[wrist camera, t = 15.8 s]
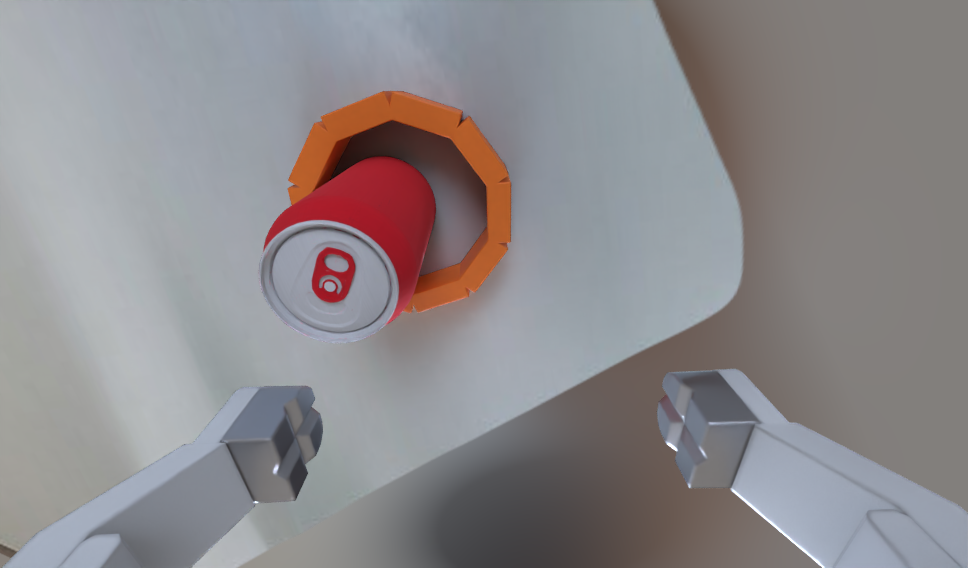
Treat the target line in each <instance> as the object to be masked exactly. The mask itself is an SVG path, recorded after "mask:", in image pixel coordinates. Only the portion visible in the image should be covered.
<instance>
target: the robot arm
mask: <svg viewBox="0 0 968 568" xmlns="http://www.w3.org/2000/svg"><path fill="white" fill-rule="evenodd" d="M662 387H663V389H664V390H665V392H666V395H665V396H664V397H663V398H662V399H661V400H660V401H659V404H658V410H657V416H658V425H659V428H660V432H661V434H662V436H663V438H664V440H665V442H666V444H667V445H669V446H670V447H672V448H673V449H674V450H676V451H677V455H676V458H675V461H676V463H677V465H678V467H679V469H680V471H681V473H682V475H683V477H684V479H685V481H686V482H687V484H688V486H689V488H731V491H733V492H734V493H735V494H736V495H737V496H739V497H740V498H741V499H742V500H743V501H745V502H746V503H747V504H748V505H749V506H750V507H752V508H753V509H754V510H755V511H756V512H758V513H759V514H760V515H761V516H762V517H764V518H765V519H766V520H767V521H768V522H769V523H771V524H772V525H773V526H774V527H775V528H776V529H778V530H779V531H780V532H781V533H782V534H784V535H785V536H786V537H787V538H788V539H790V540H791V541H792V542H793V543H794V544H795V545H797V546H798V547H799V548H800V549H801V550H803V551H804V552H805V553H806V554H807V555H809V556H810V557H811V558H812V559H813V560H814V561H816V562H817V563H818V564H819V565H820V566H822V567H823V568H968V513H967V512H966V511H965V510H963V509H962V508H961V507H960V506H959V505H957V504H955V503H953V502H951V501H949V500H947V499H945V498H943V497H941V496H939V495H938V494H936V493H934V492H932V491H930V490H928V489H926V488H924V487H922V486H920V485H918V484H916V483H914V482H912V481H910V480H908V479H906V478H904V477H902V476H900V475H898V474H897V473H894V472H893V471H891V470H889V469H887V468H885V467H883V466H881V465H879V464H877V463H875V462H873V461H871V460H869V459H867V458H865V457H863V456H861V455H859V454H857V453H855V452H854V451H851V450H850V449H848V448H846V447H844V446H842V445H840V444H838V443H836V442H834V441H832V440H830V439H828V438H826V437H824V436H822V435H820V434H818V433H816V432H814V431H812V430H811V429H809V428H807V427H805V426H803V425H801V424H799V423H789V422H788V421H787V420H786V419H785V417H783V415H782V414H781V413H780V412H779V411H778V410H777V409H776V408H775V407H774V406H773V405H772V404H771V402H769V400H768V399H767V398H766V397H765V396H764V395H763V394H762V393H761V392H760V391H759V390H758V389H757V387H756V386H755V385H754V384H753V383H752V382H751V381H750V380H749V379H748V378H747V377H746V376H745V375H744V373H743V372H741V371H739V370H737V369H723V370H712V371H690V372H668V373H667V374H666V376H665V377H664V380H663V384H662ZM314 401H315V397H314V394H313V391H312V389H311V388H310V387H308V386H264V387H242V388H240V389H238V390H236V391H235V392H234V394H233V395H232V396H231V397H230V398H229V400H228V401H227V402H226V403H225V405H224V406H223V407H222V408H221V409H220V411H219V412H218V413H217V414H216V415H215V417H214V418H213V419H212V420H211V422H210V423H209V424H208V425H207V426H206V428H205V429H204V430H203V431H202V432H201V434H200V435H199V436H198V437H197V439H196V440H195V441H194V442H193V443H192V444H184V445H183V446H181V447H179V448H178V449H176V450H174V451H173V452H171V453H169V454H168V455H166V456H164V457H163V458H161V459H159V460H158V461H156V462H154V463H153V464H151V465H149V466H148V467H146V468H144V469H143V470H141V471H139V472H138V473H136V474H134V475H133V476H131V477H129V478H128V479H126V480H124V481H123V482H121V483H119V484H118V485H116V486H114V487H113V488H111V489H109V490H108V491H106V492H104V493H103V494H101V495H99V496H98V497H96V498H94V499H93V500H91V501H89V502H88V503H86V504H84V505H83V506H81V507H79V508H78V509H76V510H74V511H73V512H71V513H69V514H68V515H66V516H65V517H63V518H61V519H60V520H58V521H56V522H55V523H53V524H51V525H50V526H48V527H46V528H45V529H43V530H41V531H40V532H38V533H36V534H35V535H34V536H33V537H32V538H31V539H30V540H29V541H28V542H27V543H26V544H25V545H24V546H23V547H22V548H21V549H20V550H19V551H18V552H17V553H16V554H15V555H14V556H13V557H12V558H11V559H10V560H9V561H8V562H7V563H6V564H5V565H4V566H3V567H2V568H191V567H192V566H193V565H194V564H195V563H196V562H197V561H198V560H199V559H200V558H202V557H203V556H204V555H205V554H206V553H207V552H208V551H209V550H210V549H211V548H212V547H213V546H214V545H215V544H216V543H217V542H218V541H219V540H220V539H221V538H222V537H223V536H224V535H225V534H226V533H228V532H229V531H230V530H231V529H232V528H233V527H234V526H235V525H236V524H237V523H238V522H239V521H240V520H241V519H242V518H243V517H244V516H245V515H246V514H247V513H248V512H249V511H250V510H251V509H252V508H254V507H255V504H256V503H272V502H288V501H295V500H296V498H297V496H298V494H299V492H300V489H301V487H302V485H303V483H304V481H305V479H306V476H307V474H308V472H307V469H306V466H305V464H306V463H308V462H309V461H310V460H311V459H312V458H314V457H315V456H316V454H317V452H318V450H319V447H320V445H321V440H322V434H323V425H322V419H321V416H320V413H319V412H317V411H316V410H315V409H314V408H312V407H311V406H312V404H313V402H314Z"/></svg>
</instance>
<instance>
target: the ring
mask: <svg viewBox="0 0 968 568" xmlns="http://www.w3.org/2000/svg"><path fill="white" fill-rule="evenodd" d="M462 114H463V111H462V110H459V109H456V108H453V107H450V106H447V105H444V104H441V103H438V102H434V101H431V100H428V99H425V98H422V97H419V96H416V95H413V94H410V93H407V92H404V91H383V92H380V93H378V94H375V95H373V96H370V97H368V98H365V99H363V100H360V101H358V102H356V103H353V104H351V105H348V106H346V107H343V108H341V109H338V110H336V111H333V112H331V113H328V114H326V115H324V116H321V119H322V122H317V123H314V125H313V127H312V129H311V132H310V134H309V136H308V138H307V140H306V142H305V145H304V147H303V149H302V151H301V153H300V155H299V157H298V160H297V162H296V164H295V166H294V168H293V170H292V173H291V175H290V177H289V179H288V180H289V181H290V182H292V183H293V184H295V185H293V186H291V187H289V188H288V192H289V196H290V200H291V204H292V205H293V204H295V203H296V202H298V201H300V200H301V199H303V198H304V197H306V196H307V195H309V194H310V193H312V192H313V191H315V190H316V189H318V188H319V187H321V186H322V185H324V184H325V183H327V182H329V180H330V178H331V176H332V174H333V172H334V170H335V168H336V166H337V164H338V162H339V160H340V158H341V156H342V154H343V152H344V150H345V148H346V146H347V144H348V142H349V140H350V139H351V137H352V136H354V135H357V134H359V133H362V132H364V131H367V130H369V129H372V128H374V127H377V126H380V125H382V124H385V123H387V122H390V121H392V120H393V121H396V122H399V123H402V124H405V125H409V126H412V127H415V128H418V129H421V130H425V131H428V132H431V133H434V134H437V135H441V136H444V137H447V138H450V139H451V140H452V141H453V142H454V144H455V145H456V146H457V148H458V149H459V150H460V152H461V153H462V154H463V156H464V157H465V158H466V160H467V161H468V162H469V164H470V165H471V166H472V168H473V169H474V170H475V172H476V173H477V174H478V176H479V177H480V178H481V180H482V181H483V182H484V183H485V185H486V203H487V227H486V228H485V230H484V231H483V233H482V234H481V235H480V237H479V238H478V240H477V241H476V242H475V244H474V245H473V246H472V248H471V249H470V251H469V252H468V253H467V255H466V256H465V258H464V259H463V260H462V262H461V263H459V264H456V265H453V266H450V267H447V268H444V269H441V270H438V271H435V272H432V273H429V274H426V275H423V276H420V277H418V280H417V284H416V287H415V291H414V293H413V296H412V298H411V300H410V302H409V303H408V305H407V306H406V308H405V309H404V310H403V311H404V312H408V313H411V312H412V309H413V306H415V308H416V310H417V312H418V313H419V312H422V311H425V310H428V309H432V308H435V307H438V306H441V305H444V304H447V303H451V302H454V301H457V300H460V299H463V298H466V297H469V290H471V291H473V292H476V291H477V289H478V288H479V287H480V286H481V284H482V283H483V282H484V280H485V279H486V278H487V276H488V275H489V274H490V272H491V271H492V270H493V269H494V267H495V266H496V265H497V263H498V262H499V261H500V259H501V258H502V257H503V256H504V254H505V253H506V252H507V250H508V247H507V243H510V242H511V182H510V179H509V176H508V172H507V169H506V166H505V164H504V163H503V162H502V160H501V159H500V157H499V156H498V155H497V153H496V152H495V150H494V149H493V148H492V146H491V145H490V143H489V142H488V141H487V139H486V138H485V136H484V135H483V134H482V132H481V131H480V130H479V128H478V127H477V125H476V124H475V123H474V121H473V120H472V118H471V117H470V116H468V117H467V118H466V119H465V120H463V121H462V122H461V118H462ZM460 122H461V123H460Z"/></svg>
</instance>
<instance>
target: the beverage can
mask: <svg viewBox="0 0 968 568" xmlns="http://www.w3.org/2000/svg"><path fill="white" fill-rule="evenodd" d="M435 215H436V203H435V198H434V194H433V192H432V189H431V187H430V185H429V183H428V182H427V180H426V179H425V178H424V176H423V175H422V174H421V173H420V172H419V171H418V170H417V169H415V168H414V167H413V166H411V165H410V164H408V163H406V162H404V161H402V160H400V159H397V158H393V157H387V156H376V157H370V158H366V159H364V160H361V161H359V162H358V163H356V164H354V165H353V166H351V167H350V168H348V169H347V170H345V171H344V172H342V173H341V174H339V175H338V176H336V177H335V178H333V179H332V180H330V181H329V182H327V183H325V184H324V185H322V186H321V187H319V188H318V189H316V190H315V191H313V192H312V193H310V194H309V195H307V196H306V197H304V198H303V199H301V200H300V201H298V202H296V203H295V204H293V205H292V206H290V207H289V208H288V209H286V210H285V211H284V212H283V213H282V214H281V215H280V216H279V217H278V218H277V219H276V221H275V222H274V223H273V225H272V227H271V228H270V230H269V232H268V235H267V237H266V240H265V245H264V250H263V254H262V257H261V260H260V264H259V282H260V287H261V290H262V293H263V295H264V297H265V299H266V302H267V304H268V305H269V306H270V308H271V309H272V311H273V312H274V313H275V314H276V316H277V317H278V318H280V319H281V320H282V321H283V322H284V323H285V324H286V325H288V326H289V327H290V328H292V329H293V330H295V331H297V332H298V333H300V334H302V335H304V336H307V337H309V338H312V339H315V340H319V341H323V342H329V343H350V342H355V341H359V340H362V339H365V338H367V337H369V336H371V335H373V334H375V333H376V332H378V331H379V330H380V329H381V328H382V327H384V326H385V325H387V324H388V323H390V322H391V321H393V320H394V319H395V318H396V317H397V316H399V315H400V314H401V312H402V311H403V310H404V309H405V308H406V306H407V305H408V303H409V302H410V300H411V298H412V296H413V293H414V291H415V287H416V284H417V280H418V277H419V273H420V270H421V266H422V262H423V259H424V255H425V252H426V248H427V245H428V241H429V238H430V234H431V231H432V227H433V224H434V220H435Z"/></svg>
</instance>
